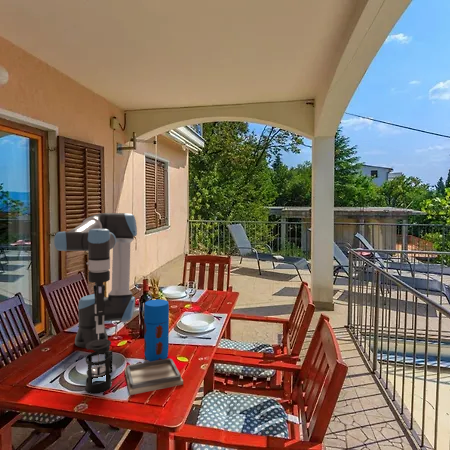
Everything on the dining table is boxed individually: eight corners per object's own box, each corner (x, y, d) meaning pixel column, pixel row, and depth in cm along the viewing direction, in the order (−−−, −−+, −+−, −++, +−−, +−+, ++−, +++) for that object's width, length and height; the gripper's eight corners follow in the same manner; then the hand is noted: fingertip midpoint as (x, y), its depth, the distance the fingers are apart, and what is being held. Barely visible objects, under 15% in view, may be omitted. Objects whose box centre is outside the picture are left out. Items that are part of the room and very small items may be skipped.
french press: (97, 397, 120) (97, 335, 118) (78, 391, 124) (77, 330, 122) (120, 381, 131) (120, 324, 129) (101, 376, 134) (101, 320, 133)
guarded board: (124, 371, 138) (124, 364, 138) (171, 363, 146) (171, 356, 146) (130, 395, 122) (130, 387, 122) (183, 384, 130) (183, 377, 129)
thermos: (147, 363, 145) (147, 307, 144) (141, 353, 155) (141, 300, 153) (171, 359, 150) (172, 304, 149) (164, 349, 160) (164, 298, 158)
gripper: (87, 265, 134) (88, 316, 135) (88, 278, 111) (89, 340, 112) (107, 264, 137) (107, 314, 138) (112, 276, 114) (112, 337, 115)
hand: (99, 326), depth 125 cm, fingers open, 13 cm apart
